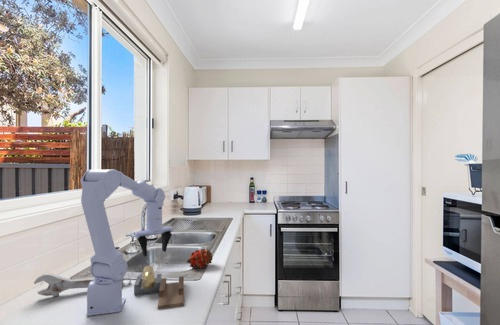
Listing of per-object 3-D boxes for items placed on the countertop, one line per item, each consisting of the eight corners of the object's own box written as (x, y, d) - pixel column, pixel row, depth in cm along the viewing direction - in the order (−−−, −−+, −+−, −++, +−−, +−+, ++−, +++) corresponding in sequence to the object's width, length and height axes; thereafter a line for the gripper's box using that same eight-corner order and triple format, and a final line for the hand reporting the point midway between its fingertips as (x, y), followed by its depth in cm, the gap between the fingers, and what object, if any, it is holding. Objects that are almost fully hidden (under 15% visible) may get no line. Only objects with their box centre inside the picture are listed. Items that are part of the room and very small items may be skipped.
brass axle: (154, 289, 95) (155, 277, 95) (142, 289, 94) (143, 278, 94) (153, 275, 106) (154, 265, 106) (142, 276, 105) (143, 265, 105)
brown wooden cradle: (157, 309, 85) (157, 299, 85) (161, 286, 101) (161, 278, 101) (183, 305, 87) (183, 296, 87) (183, 284, 103) (183, 276, 103)
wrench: (129, 292, 102) (31, 299, 91) (129, 290, 104) (33, 297, 92) (131, 271, 103) (34, 275, 91) (131, 269, 105) (36, 273, 93)
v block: (134, 295, 94) (134, 285, 94) (137, 285, 102) (137, 275, 102) (159, 292, 96) (159, 282, 96) (161, 282, 104) (161, 273, 104)
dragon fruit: (215, 268, 122) (189, 278, 116) (208, 253, 127) (183, 261, 122) (217, 257, 117) (190, 266, 111) (210, 241, 122) (183, 249, 117)
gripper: (138, 223, 99) (139, 260, 99) (176, 217, 108) (176, 251, 108) (132, 219, 105) (133, 255, 105) (168, 215, 114) (169, 247, 114)
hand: (154, 253), depth 107 cm, fingers open, 7 cm apart
